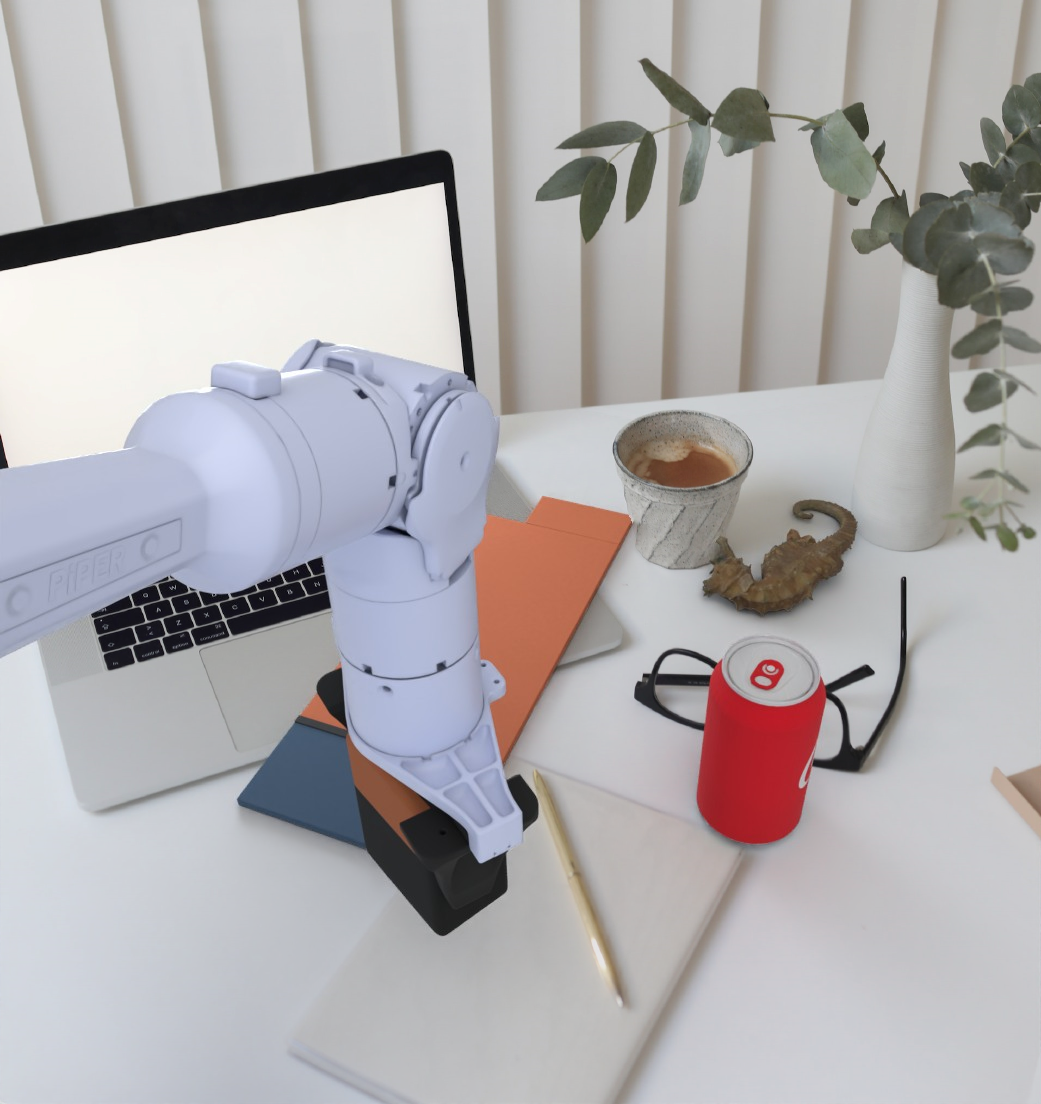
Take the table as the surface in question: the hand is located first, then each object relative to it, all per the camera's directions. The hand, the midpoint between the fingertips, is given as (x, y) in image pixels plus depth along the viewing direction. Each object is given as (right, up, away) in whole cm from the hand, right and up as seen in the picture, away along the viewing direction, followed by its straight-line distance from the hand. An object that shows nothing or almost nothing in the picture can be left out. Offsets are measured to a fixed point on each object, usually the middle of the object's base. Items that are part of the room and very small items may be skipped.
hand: (432, 836), depth 52 cm
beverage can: (+18, -2, +13) cm, 22 cm away
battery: (0, -2, +2) cm, 3 cm away
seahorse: (+24, +13, +31) cm, 41 cm away
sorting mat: (0, +7, +25) cm, 26 cm away
